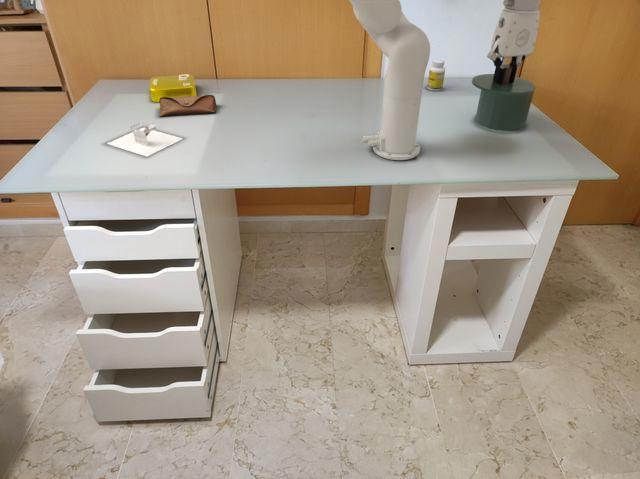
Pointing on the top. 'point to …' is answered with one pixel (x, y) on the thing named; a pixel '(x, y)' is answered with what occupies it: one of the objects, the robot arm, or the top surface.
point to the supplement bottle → (436, 75)
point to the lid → (506, 88)
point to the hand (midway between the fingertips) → (503, 81)
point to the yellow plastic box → (172, 86)
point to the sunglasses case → (187, 105)
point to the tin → (503, 110)
